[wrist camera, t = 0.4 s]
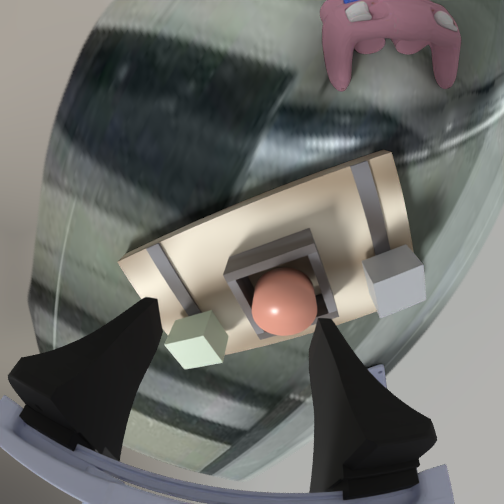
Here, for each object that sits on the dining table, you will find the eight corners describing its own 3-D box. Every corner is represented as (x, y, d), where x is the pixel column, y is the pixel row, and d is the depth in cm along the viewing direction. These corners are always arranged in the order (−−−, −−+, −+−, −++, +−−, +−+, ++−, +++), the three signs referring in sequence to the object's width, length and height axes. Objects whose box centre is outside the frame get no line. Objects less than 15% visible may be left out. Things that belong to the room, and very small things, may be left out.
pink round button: (320, 302, 19) (324, 325, 17) (268, 318, 20) (266, 341, 18) (302, 255, 18) (305, 275, 15) (245, 275, 19) (240, 296, 16)
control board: (411, 285, 21) (429, 312, 18) (192, 351, 27) (182, 380, 23) (383, 149, 17) (407, 157, 13) (125, 253, 22) (102, 277, 19)
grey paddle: (410, 277, 19) (426, 299, 16) (369, 293, 20) (380, 318, 17) (406, 244, 18) (423, 264, 15) (361, 260, 18) (373, 284, 16)
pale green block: (228, 336, 23) (223, 362, 20) (193, 344, 23) (184, 369, 21) (211, 309, 21) (203, 335, 19) (175, 320, 22) (164, 344, 20)
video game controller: (426, 49, 14) (453, -6, 7) (451, 94, 14) (492, 43, 7) (311, 50, 15) (308, -21, 9) (330, 98, 15) (338, 25, 8)
